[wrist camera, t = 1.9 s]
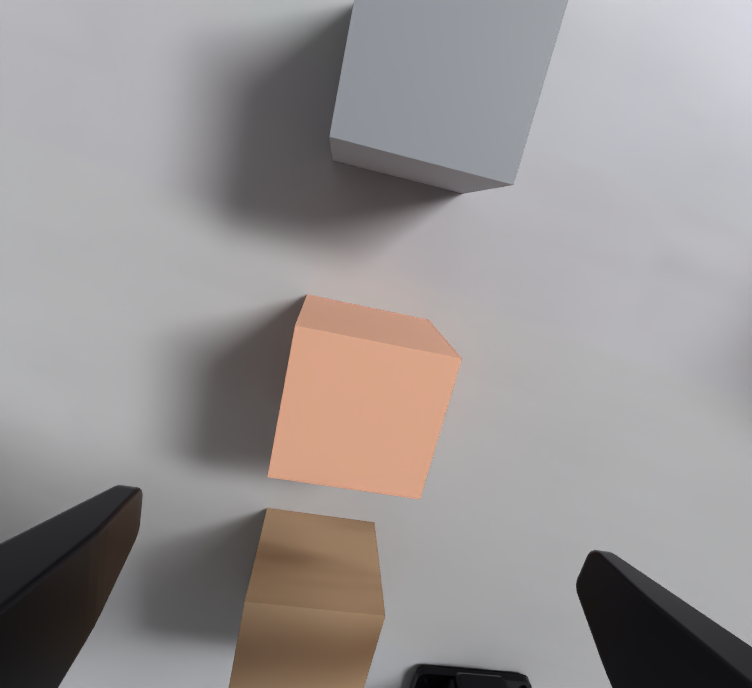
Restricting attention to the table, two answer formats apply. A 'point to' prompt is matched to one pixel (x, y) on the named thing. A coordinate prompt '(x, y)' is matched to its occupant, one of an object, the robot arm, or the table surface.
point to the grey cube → (443, 88)
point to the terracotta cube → (362, 399)
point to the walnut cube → (310, 604)
